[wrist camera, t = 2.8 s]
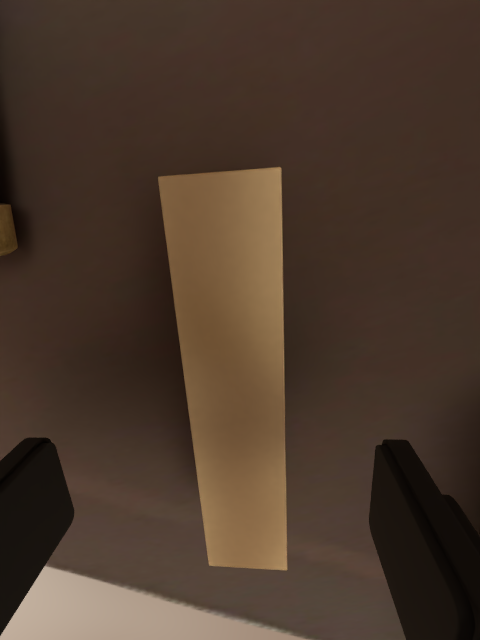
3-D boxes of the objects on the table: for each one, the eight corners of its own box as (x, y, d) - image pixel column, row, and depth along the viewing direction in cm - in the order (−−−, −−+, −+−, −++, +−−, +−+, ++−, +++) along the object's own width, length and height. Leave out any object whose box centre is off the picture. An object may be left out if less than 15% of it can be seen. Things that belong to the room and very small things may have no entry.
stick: (278, 181, 13) (281, 166, 8) (283, 486, 18) (287, 571, 14) (194, 187, 13) (156, 176, 9) (223, 483, 18) (208, 566, 14)
